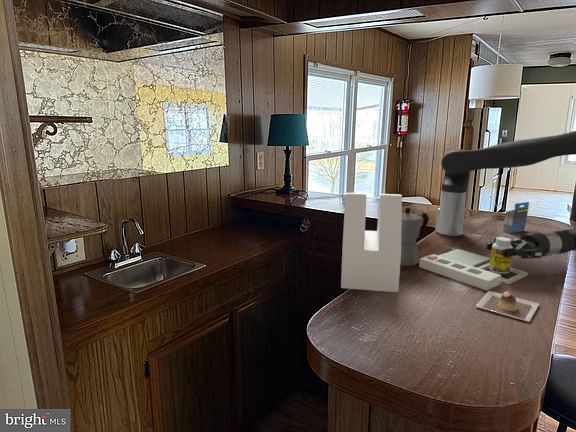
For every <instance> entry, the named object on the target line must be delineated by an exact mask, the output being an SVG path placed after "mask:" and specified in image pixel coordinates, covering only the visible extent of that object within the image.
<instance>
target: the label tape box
mask: <svg viewBox="0 0 576 432" xmlns="http://www.w3.org/2000/svg"><path fill="white" fill-rule="evenodd" d="M529 206H530V202H529V201H527V202H525V201H524V202H519V203H518V202H516V203H514V209H512V210H508V211H505V215H504V221H503V222H504V223H503V230H502V231H503V232H505V233H507V234H508V233H509V234H514V233H518V232H519V233H520V232H523V231H525V229H526V223H527V218H528V212H529V208H530V207H529Z"/></svg>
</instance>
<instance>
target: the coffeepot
mask: <svg viewBox="0 0 576 432" xmlns="http://www.w3.org/2000/svg"><path fill="white" fill-rule="evenodd" d="M404 210H405V212H402V224H401V261H400V267H401V266H403V267H412V266H417V265H418V264H419V263H420V258H419V250H418V249H419V248H418V243H417V239H420V238H422V237H423V236H424V235H425V232H426V228H427V226H428V222H429V221H430V219H429V218H430V217H429V215H428V214H427V213H426V212H421V213H420V212H417V213H415V214H414V213H411V208H410V207H405V209H404Z"/></svg>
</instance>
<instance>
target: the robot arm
mask: <svg viewBox="0 0 576 432" xmlns="http://www.w3.org/2000/svg"><path fill="white" fill-rule="evenodd" d="M571 155H576V130H575V131H570V132H566V133H561V134H557V135H550V136H549V135H548V136H541V137H534V138H528V139H527V138H525V139H520V140H514V141H513V140H512V141H508V142H507V141H506V142H503V143H499V144H494V145H490V146H487V147H484V148H477V149H471V150H470V149H469V150H468V149H467V150H464V149H461V148H460V149H459V148H458V149H457V148H456V149H453V150H450V151H448V152H447V153H445V154H444V155H443V157H442V159H441V162H440V163H441V168H442V169H443V171H444V176H443V180H442V183H441V190H440V200H439V208H437V211H436V217H435V218H436V219H435V231H434V232H436V233H438V234H440V235H444V236H450V237H457V236H458V237H459V236H461V235H462V234H463V226H464V225H463V224H464V216H465V211H466V210H465V207H466V200H467V199H466V197H467V190H468V185H469V181H470V173H471V172H473V171H478V170H485V169H488V170H489V169H508V168H520V167H528V166H533V165H536V164H538V163H541V162H545V161H547V160H550V159H552V158H556V157H562V156H571ZM570 218H571V220H573V221H575V222H576V185H574V190H573V195H572V201H571V212H570ZM504 237H506V238H509V237H508V236H504ZM496 238H497V237H496ZM496 238H493V241H491V242H487V243H486V250H487V251H492V245H493V244H494V243H496ZM510 239H511V246H512V247H513V248H509V249H503V251H502V256H503V257H509V256H512V257H516V258H518V257H519V258H520V259H523V260H525V259H527V260H530V259H541V258H543V257H544V258H545V257H551V256H554V255H558V254H565V253H568V252H569V253H570V252H574V251H576V228H570V229H563V230H557V231H555V230H554V231H540V232H539V231H538V232H537V231H536V232H529V233H525V234H523V235H522V236H521V237H520V238H514V239H512V238H510Z"/></svg>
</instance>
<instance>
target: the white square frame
mask: <svg viewBox="0 0 576 432" xmlns="http://www.w3.org/2000/svg"><path fill="white" fill-rule="evenodd" d="M489 266H490V262H488V263H485V264H483V265H481V266H480V265H479V267H477V268H480V269H483V270H487V269H489ZM509 273H513V274H515V275H514V276H511V277H509V278H505V277H502V276H501V281H500V283H504V284H507V285H511V284H513V283H515V282H517V281H520V280H521V279H523V278H525V277H528V272H527V271H523V270H520V269H517V268H513V267H511V266H510V272H509Z"/></svg>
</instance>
